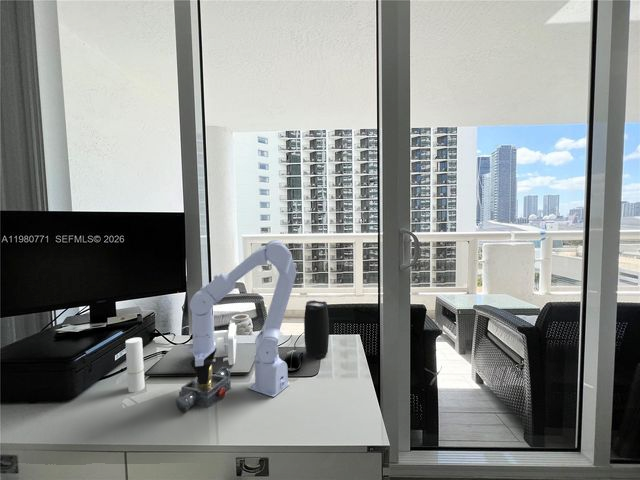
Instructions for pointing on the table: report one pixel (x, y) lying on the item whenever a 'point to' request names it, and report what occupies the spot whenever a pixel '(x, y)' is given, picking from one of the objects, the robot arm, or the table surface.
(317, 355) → the portable speaker
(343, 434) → the table surface
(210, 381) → the brass cylinder
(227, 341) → the cable organizer
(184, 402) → the valve body
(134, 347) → the tube
